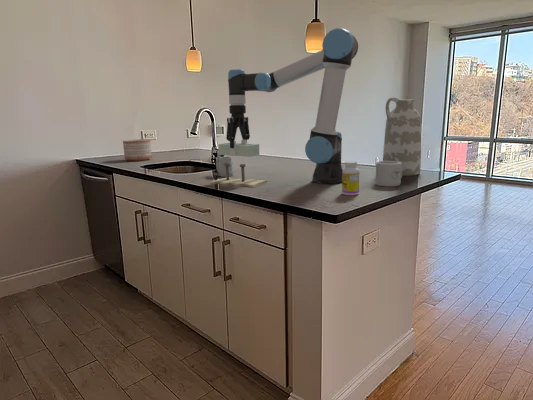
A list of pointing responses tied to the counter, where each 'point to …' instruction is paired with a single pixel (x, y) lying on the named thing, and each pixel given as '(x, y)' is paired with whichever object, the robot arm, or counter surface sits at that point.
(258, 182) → the board
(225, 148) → the pale green block
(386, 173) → the mug
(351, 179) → the supplement bottle
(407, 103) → the vase
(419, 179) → the counter surface
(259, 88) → the robot arm
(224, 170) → the mug
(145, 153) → the planter
